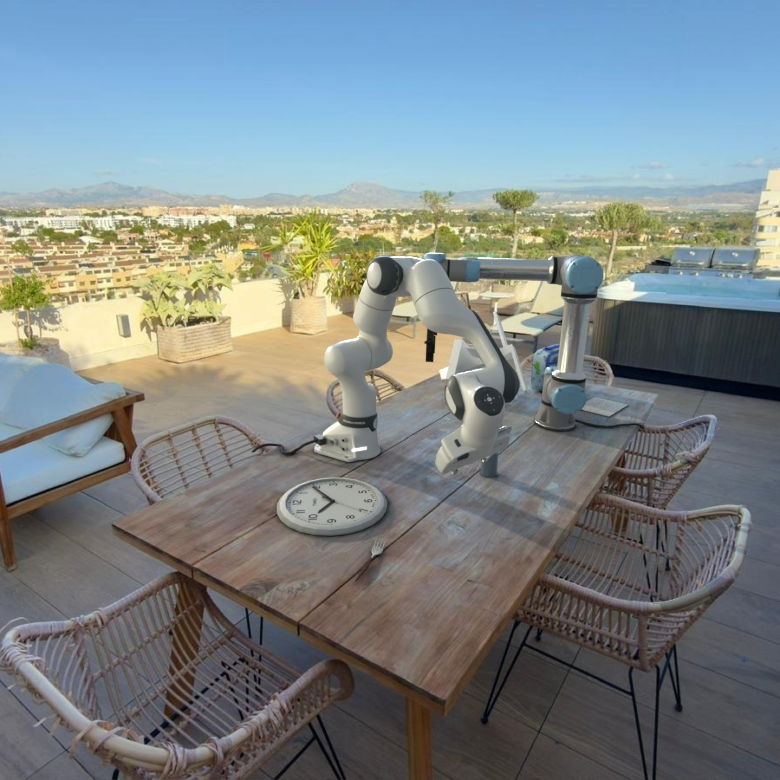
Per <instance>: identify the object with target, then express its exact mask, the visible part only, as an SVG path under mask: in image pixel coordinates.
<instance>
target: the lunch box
mask: <svg viewBox="0 0 780 780" xmlns="http://www.w3.org/2000/svg"><path fill="white" fill-rule="evenodd" d="M559 346H560V343H555V344H552V345H547V346H545V347H542V348H539V349H537V350H536V351H535V353H534V355H533V358H532V363H531V364H532V365H531V376H530V377H531V378H530V387H531V389H532V390H536V391H539V392H540V391H541V392H543V382H544V373H545V369H546V368H547V367H553V366H557V364H558V355H559Z"/></svg>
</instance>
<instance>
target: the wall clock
mask: <svg viewBox="0 0 780 780" xmlns="http://www.w3.org/2000/svg"><path fill="white" fill-rule="evenodd" d="M387 509H388V500H387V498H386V496H385V494H384V493H383V492H382V491H381V490H380V489H379V488H377V487H376V486H374V485H372V484H371V483H369V482H365V481H362V480H359V479H355V478H349V477H338V476H337V477H335V476H333V477H332V476H331V477H322V478H317V479H312V480H307V481H305V482H302V483H299V484H297V485H295V486H293V487H292V488H290V489H288V490H287V491H286V492H285V493H284V494H283V495H281V496H280V498H279V499H278V502H277V503H276V515H277V517H278V518H279V520H280V521H281V522H282V523H283V524H285V525H286V526H287V527H288V528H290V529H293V530H295V531H297V532H299V533H303V534H308V535H312V536H327V537H328V536H329V537H331V536H332V537H333V536H342V535H350V534H352V533H356V532H361V531H363V530H366V529H368V528H369V527H372V526H373V525H375V524H376V523H378V522H379V521H380V520H381V519H382V518H383V517H384V516H385V514H386V512H387Z"/></svg>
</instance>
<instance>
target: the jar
mask: <svg viewBox="0 0 780 780" xmlns="http://www.w3.org/2000/svg"><path fill="white" fill-rule="evenodd" d="M499 453H500V452H498V453H496V454H493V455H492V456H491V457H490V458H489V459H488V461H487V462H484V463H482V462H481V464H480V465H481V466H480V474H481V475H482V476H483V477H485V478H486V477H487V478H494V477H496V476H497V475H498V467H499Z"/></svg>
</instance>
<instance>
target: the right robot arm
mask: <svg viewBox="0 0 780 780" xmlns="http://www.w3.org/2000/svg"><path fill="white" fill-rule="evenodd" d="M423 259H430V260H435V261H437V262H438V263H439V264H440V265H441V266H442V268H443V269H444V271H445V273H446V274H447V276H448V278H449V280H450V282H451V283H453V282H457V283H468V284H470V283H477V282H479V281H480V280H495V281H497V280H499V281H500V280H501V281H526V282H527V281H531V282H546V283H547V284H548V285H557V286H561V289H560V298H561V299H562V300H563V303H564V305H563V313H562V322H561V330H560V339H559V344H560V346H559V355H558V364H557V366H553V367H547V368H546V369H545V373H544V382H543V391H541V392H542V394H541V402H540V405H539V407H538V410H537V411H536V413H535V417H534V424H535V425H536V426H537V427H539V428H542V429H544V430H549V431H556V432H567V431H572V430H574V429H575V428H576V423H577V424H582V425H585V426H589V427H594V428H599V429H600V428H601V429H614V428H620V427H632V426H633V427H634V426H635V427H639V428H640V429H641V430H645V429H646V428H645V426H643V424H641V423H637V422H628V423H617V424H612V425H607V424H605V425H603V424H596V423H591V422H587V421H583V420H580V419H576V418H575V417H576V416H575V414H576V413H579V412H580V411H582V410H581V409H582V408H583V407H584V406H585V404H586V401H588V397H587V392H586V389H585V388H586V383H587V382H586V381H587V375H586V374H585V373H584V371H583V369H584V361H585V355H586V347H587V339H588V338H587V337H588V330H589V324H590V318H591V317H590V316H591V308H592V303H593V302H594V301H596V300H597V298H598V294H599V293H598V291H599V288H601V285H602V284H603V281H604V269H603V267H602V265H601V264H600V262H599V261H597V260H596V259H595V258H594V257H592V256H587V255H581V254H574V255H573V254H572V255H565V256H551V257H549V258H548V259H545V258H544V259H543V258H542V259H541V258H540V259H539V258H501V257H500V258H497V257H496V258H495V257H494V258H492V257H466V256H460V257H457V258H455V259H451V258H449V259H448V258H447V257H446V253H444V252H427V253H425V254H424V255H423ZM436 336H438V333H436V332H434V331H431V330H429V329H428V328H426V340H424V342H423V343H424V344H425V362H426V363H434V359H435V357H434V356H435V353H436V338H437V337H436Z"/></svg>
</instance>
